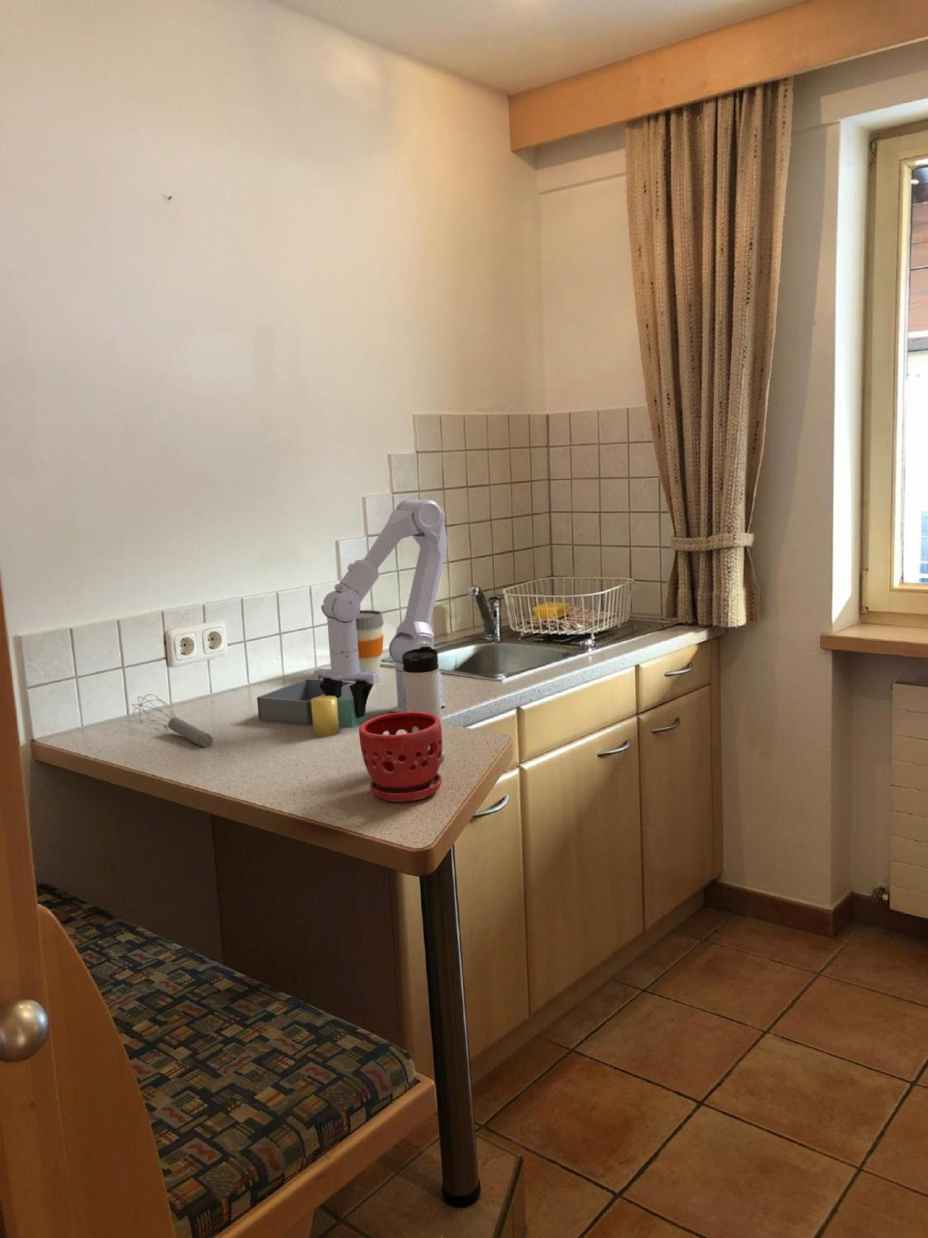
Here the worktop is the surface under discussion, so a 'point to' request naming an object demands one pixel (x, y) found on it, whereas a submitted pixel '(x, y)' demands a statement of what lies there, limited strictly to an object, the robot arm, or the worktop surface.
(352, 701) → the cube
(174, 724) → the kitchen whisk
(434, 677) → the travel mug
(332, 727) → the cylinder
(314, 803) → the worktop surface
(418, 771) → the plant pot
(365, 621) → the reusable coffee cup
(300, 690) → the tote
